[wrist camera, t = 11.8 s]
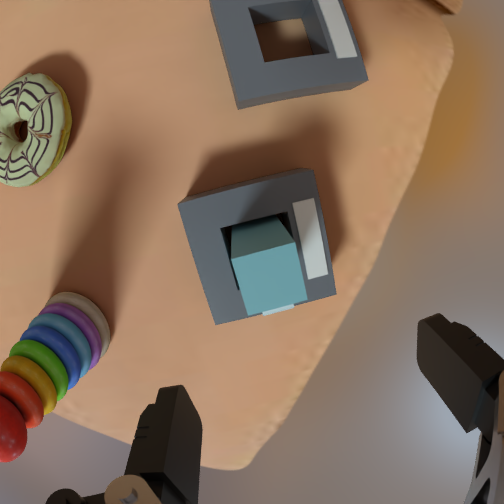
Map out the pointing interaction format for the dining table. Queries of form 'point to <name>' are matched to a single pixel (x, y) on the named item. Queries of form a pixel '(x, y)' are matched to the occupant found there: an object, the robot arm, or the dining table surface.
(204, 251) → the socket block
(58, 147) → the decorated donut
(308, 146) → the dining table surface
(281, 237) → the plug
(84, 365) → the stacking toy
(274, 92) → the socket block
